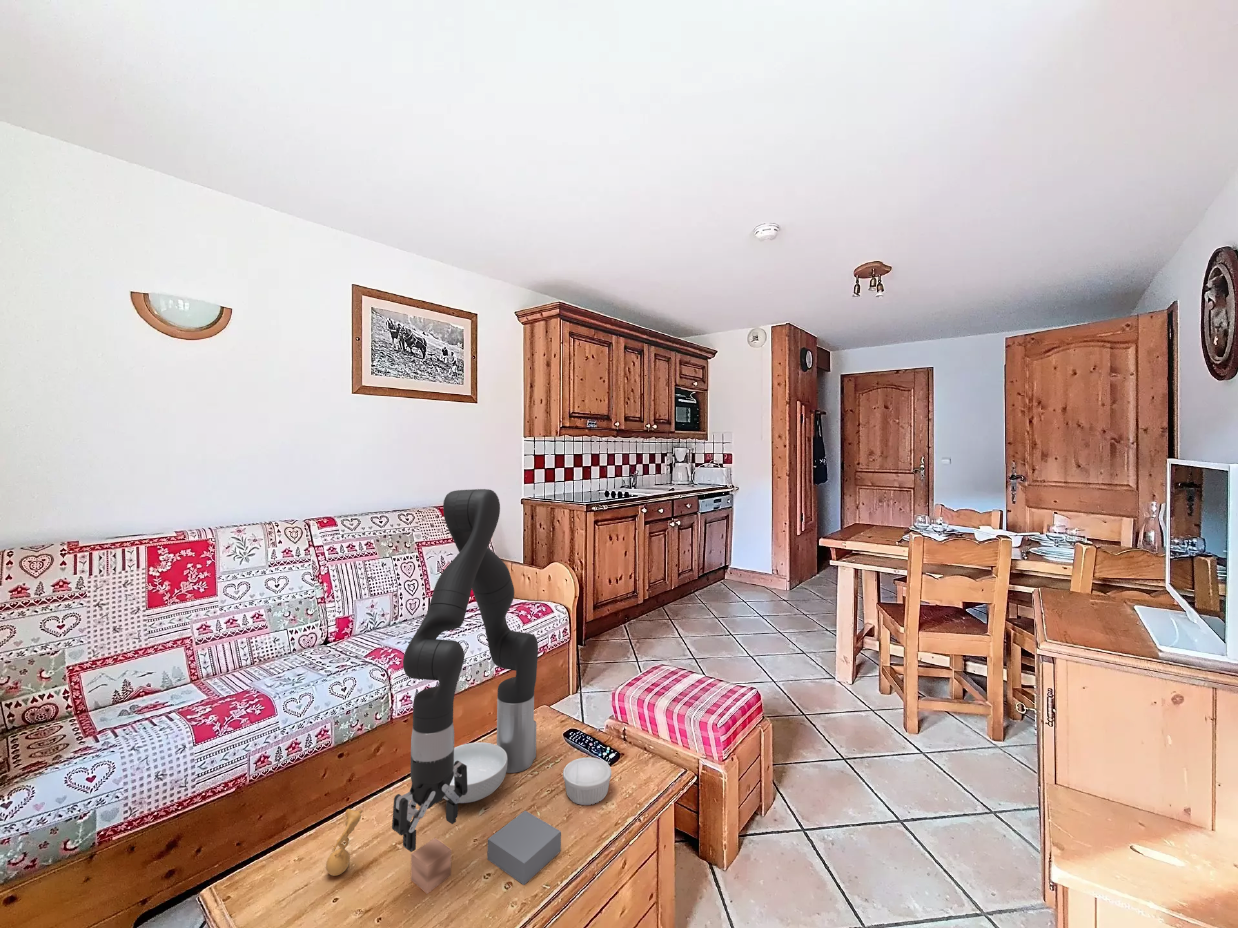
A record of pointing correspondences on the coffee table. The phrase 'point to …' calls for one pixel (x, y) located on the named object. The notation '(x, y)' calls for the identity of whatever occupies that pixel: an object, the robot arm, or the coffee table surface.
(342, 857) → the figurine
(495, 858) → the slate base
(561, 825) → the coffee table surface
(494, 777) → the cereal bowl
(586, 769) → the ramekin
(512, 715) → the robot arm
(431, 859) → the terracotta cube
